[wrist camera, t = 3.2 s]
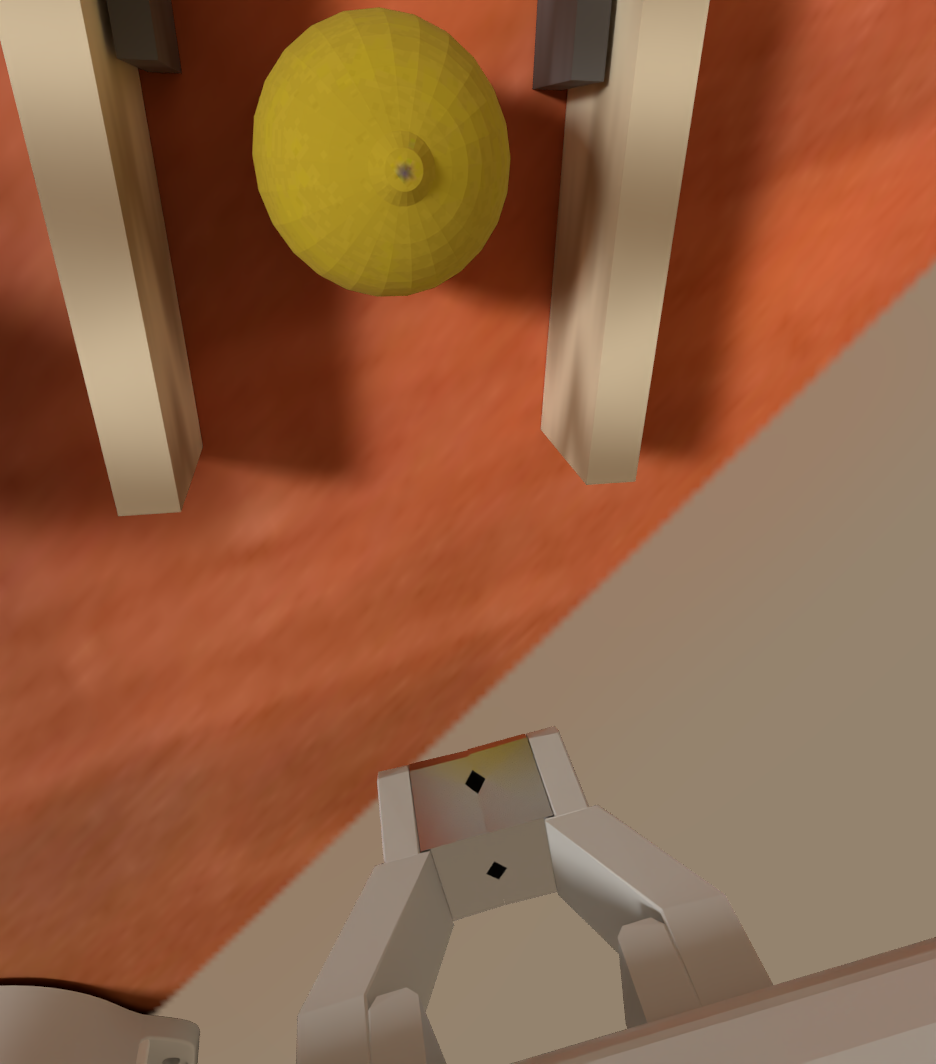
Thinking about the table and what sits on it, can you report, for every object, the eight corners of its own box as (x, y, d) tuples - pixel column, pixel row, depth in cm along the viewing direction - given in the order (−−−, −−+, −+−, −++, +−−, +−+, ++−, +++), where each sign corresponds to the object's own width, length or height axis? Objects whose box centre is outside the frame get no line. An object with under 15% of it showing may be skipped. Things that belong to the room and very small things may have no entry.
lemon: (234, 214, 19) (196, 255, 12) (304, -13, 17) (305, -119, 10) (419, 299, 21) (476, 375, 14) (501, 105, 19) (613, 85, 12)
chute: (582, 427, 24) (635, 481, 20) (151, 448, 21) (118, 515, 18) (640, -107, 17) (737, -178, 13) (21, -170, 15) (-80, -282, 11)
